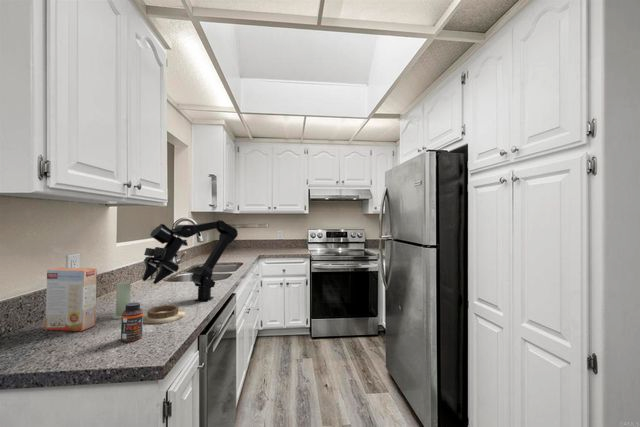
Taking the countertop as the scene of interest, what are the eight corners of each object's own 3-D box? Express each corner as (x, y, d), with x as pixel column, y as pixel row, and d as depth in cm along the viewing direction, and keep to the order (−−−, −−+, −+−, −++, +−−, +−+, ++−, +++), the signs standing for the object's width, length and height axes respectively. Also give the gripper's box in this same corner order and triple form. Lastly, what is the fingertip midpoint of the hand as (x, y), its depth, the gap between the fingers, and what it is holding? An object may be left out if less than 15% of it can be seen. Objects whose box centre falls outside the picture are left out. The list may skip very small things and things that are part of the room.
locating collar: (158, 309, 126) (158, 302, 126) (193, 311, 123) (193, 304, 124) (129, 322, 110) (129, 314, 110) (168, 325, 108) (169, 317, 108)
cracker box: (96, 325, 106) (97, 267, 107) (81, 332, 100) (82, 270, 101) (61, 324, 108) (62, 266, 108) (44, 330, 102) (46, 269, 102)
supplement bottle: (124, 344, 91) (125, 307, 91) (117, 339, 95) (118, 304, 95) (145, 338, 96) (146, 303, 96) (138, 333, 99) (138, 300, 100)
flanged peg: (121, 313, 121) (122, 281, 121) (137, 313, 120) (138, 281, 120) (107, 318, 114) (108, 285, 114) (123, 319, 113) (124, 285, 113)
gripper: (145, 238, 129) (121, 270, 121) (167, 240, 118) (142, 275, 110) (165, 251, 136) (144, 282, 128) (188, 254, 125) (166, 288, 118)
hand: (148, 282), depth 121 cm, fingers open, 9 cm apart
